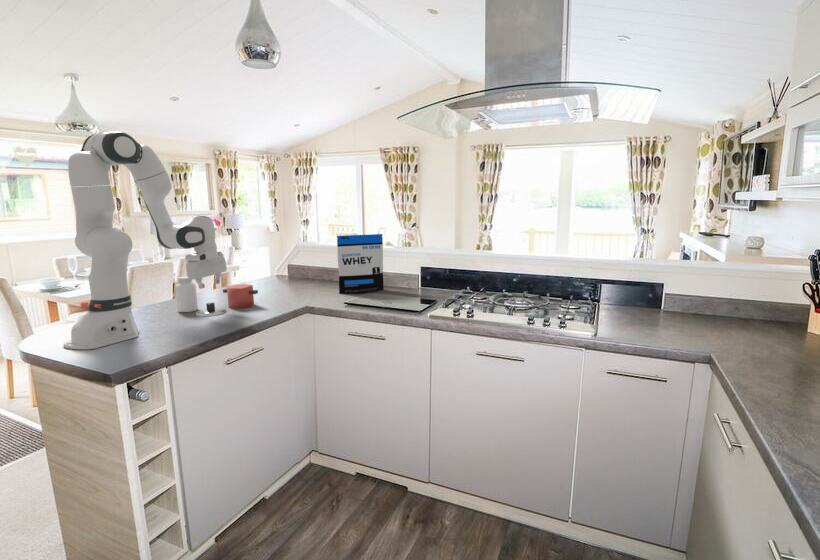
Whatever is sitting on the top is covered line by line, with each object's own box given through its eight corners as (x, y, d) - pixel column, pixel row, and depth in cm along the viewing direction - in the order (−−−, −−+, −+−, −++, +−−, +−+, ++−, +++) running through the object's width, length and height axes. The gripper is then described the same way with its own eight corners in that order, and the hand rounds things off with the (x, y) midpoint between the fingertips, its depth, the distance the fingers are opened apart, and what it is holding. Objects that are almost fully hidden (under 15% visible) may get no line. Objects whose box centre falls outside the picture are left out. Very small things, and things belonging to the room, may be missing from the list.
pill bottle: (201, 308, 195) (198, 275, 192) (191, 312, 187) (187, 278, 185) (185, 308, 196) (181, 275, 193) (173, 312, 188) (170, 278, 185)
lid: (213, 317, 180) (212, 307, 179) (189, 316, 183) (188, 305, 182) (232, 311, 191) (231, 301, 191) (209, 309, 195) (208, 299, 194)
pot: (250, 309, 192) (248, 289, 190) (217, 307, 196) (216, 288, 195) (264, 304, 202) (263, 285, 201) (233, 302, 207) (232, 283, 205)
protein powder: (337, 292, 228) (334, 235, 222) (380, 288, 237) (379, 233, 232) (341, 295, 219) (339, 236, 214) (386, 291, 228) (385, 234, 223)
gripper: (216, 250, 193) (219, 280, 196) (181, 257, 174) (186, 290, 177) (228, 250, 192) (231, 281, 195) (194, 257, 173) (198, 291, 175)
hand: (209, 285), depth 186 cm, fingers open, 8 cm apart
